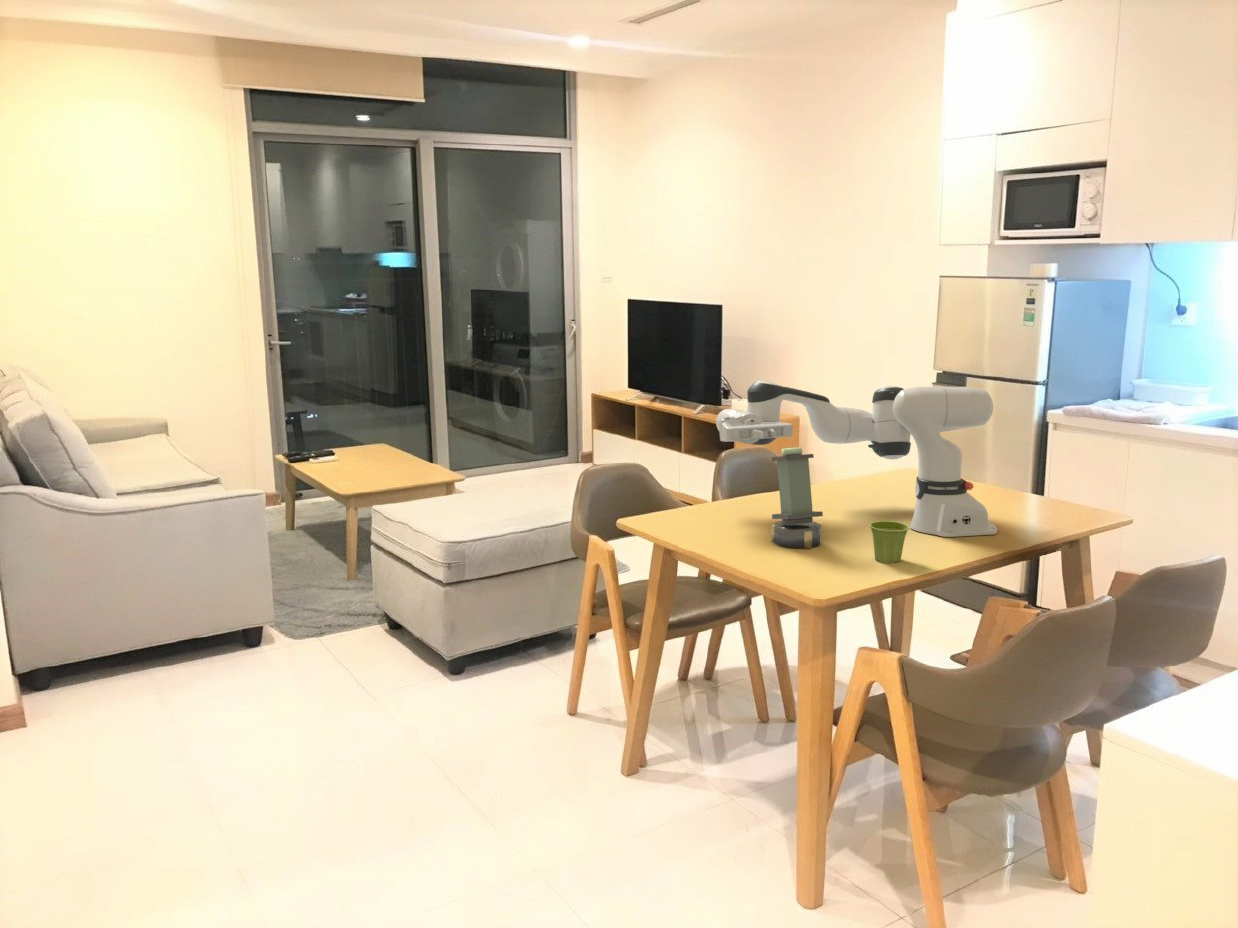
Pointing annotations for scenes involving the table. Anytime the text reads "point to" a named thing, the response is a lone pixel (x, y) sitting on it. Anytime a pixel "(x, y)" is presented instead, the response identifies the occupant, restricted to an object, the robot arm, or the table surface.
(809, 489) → the green square column
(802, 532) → the base
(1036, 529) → the table surface
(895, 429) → the robot arm
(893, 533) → the plant pot
